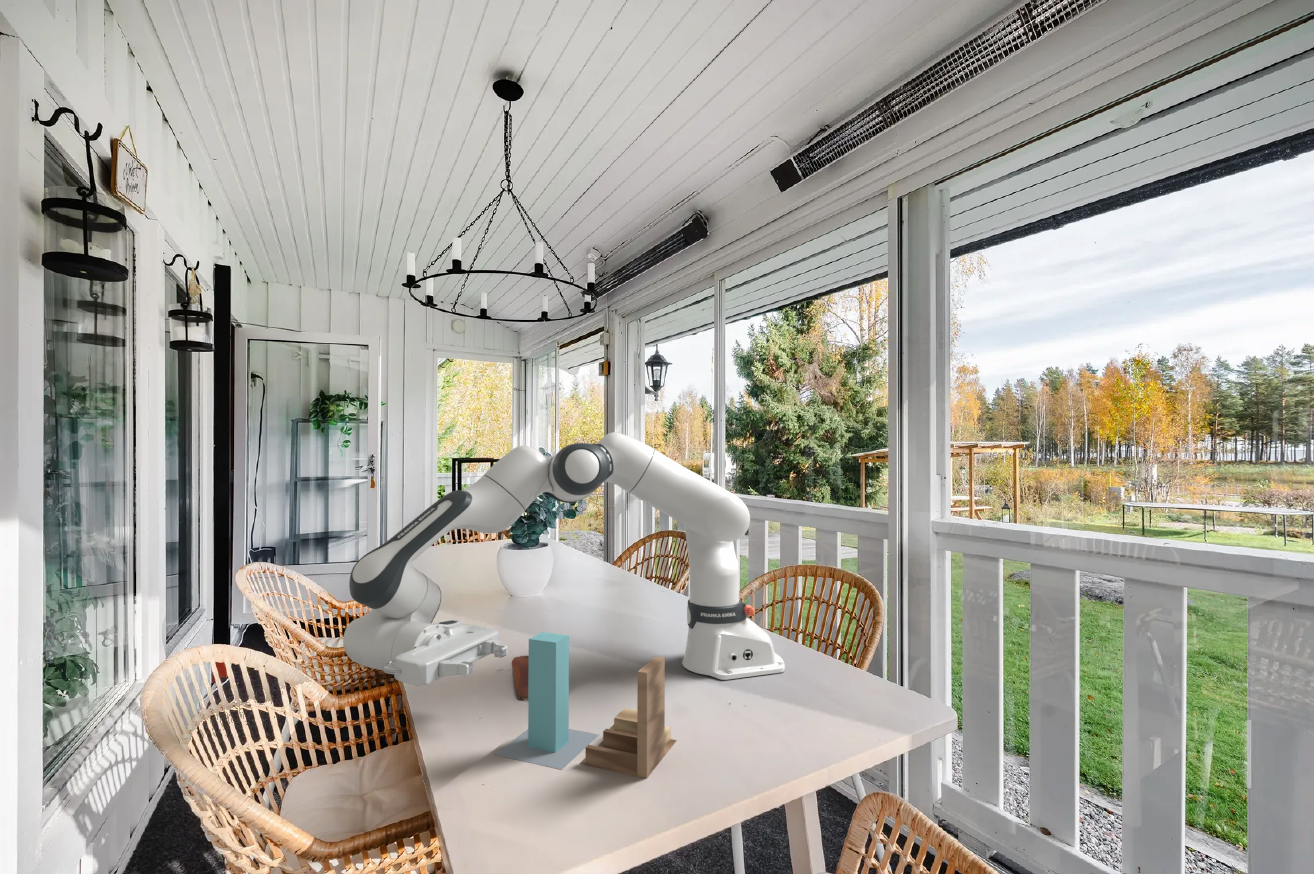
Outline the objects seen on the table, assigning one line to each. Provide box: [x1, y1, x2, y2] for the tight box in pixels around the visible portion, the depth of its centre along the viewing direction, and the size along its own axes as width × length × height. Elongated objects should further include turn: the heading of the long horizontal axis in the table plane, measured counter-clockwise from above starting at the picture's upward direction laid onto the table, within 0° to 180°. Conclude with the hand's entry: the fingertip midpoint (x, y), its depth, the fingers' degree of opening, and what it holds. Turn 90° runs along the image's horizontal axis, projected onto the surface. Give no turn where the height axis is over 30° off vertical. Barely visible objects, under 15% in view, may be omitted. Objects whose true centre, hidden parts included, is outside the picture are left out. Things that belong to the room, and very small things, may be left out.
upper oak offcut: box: [613, 707, 637, 734], centre depth 100 cm, size 4×7×2 cm, turn 68°
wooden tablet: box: [511, 654, 529, 702], centre depth 132 cm, size 27×10×2 cm, turn 17°
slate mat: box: [493, 728, 600, 771], centre depth 99 cm, size 12×12×1 cm
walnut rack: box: [579, 656, 678, 779], centre depth 97 cm, size 12×11×16 cm
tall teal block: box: [527, 631, 570, 753], centre depth 99 cm, size 4×5×17 cm
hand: (488, 660), depth 104 cm, fingers open, 8 cm apart
